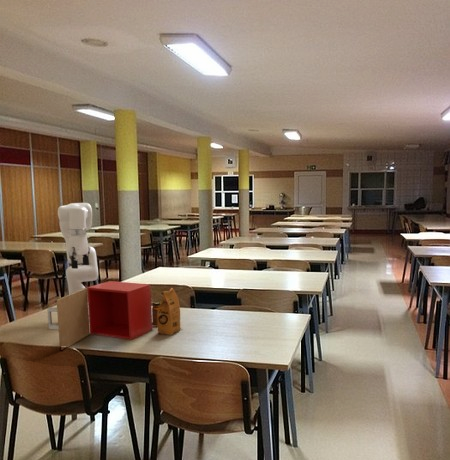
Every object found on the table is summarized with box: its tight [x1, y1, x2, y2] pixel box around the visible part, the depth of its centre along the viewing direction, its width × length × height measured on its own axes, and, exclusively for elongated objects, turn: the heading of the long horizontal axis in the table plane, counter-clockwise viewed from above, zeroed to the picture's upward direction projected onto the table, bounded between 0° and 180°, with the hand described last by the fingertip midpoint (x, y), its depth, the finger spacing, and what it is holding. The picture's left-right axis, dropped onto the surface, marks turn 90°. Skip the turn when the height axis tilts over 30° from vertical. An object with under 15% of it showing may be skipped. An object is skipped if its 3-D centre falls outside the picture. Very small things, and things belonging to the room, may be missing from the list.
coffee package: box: [157, 287, 182, 336], centre depth 251 cm, size 10×12×22 cm
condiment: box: [151, 301, 162, 328], centre depth 266 cm, size 7×8×12 cm
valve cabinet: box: [86, 280, 153, 341], centre depth 252 cm, size 18×26×24 cm
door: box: [46, 287, 91, 348], centre depth 237 cm, size 8×26×24 cm, turn 167°
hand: (80, 266), depth 242 cm, fingers open, 9 cm apart
